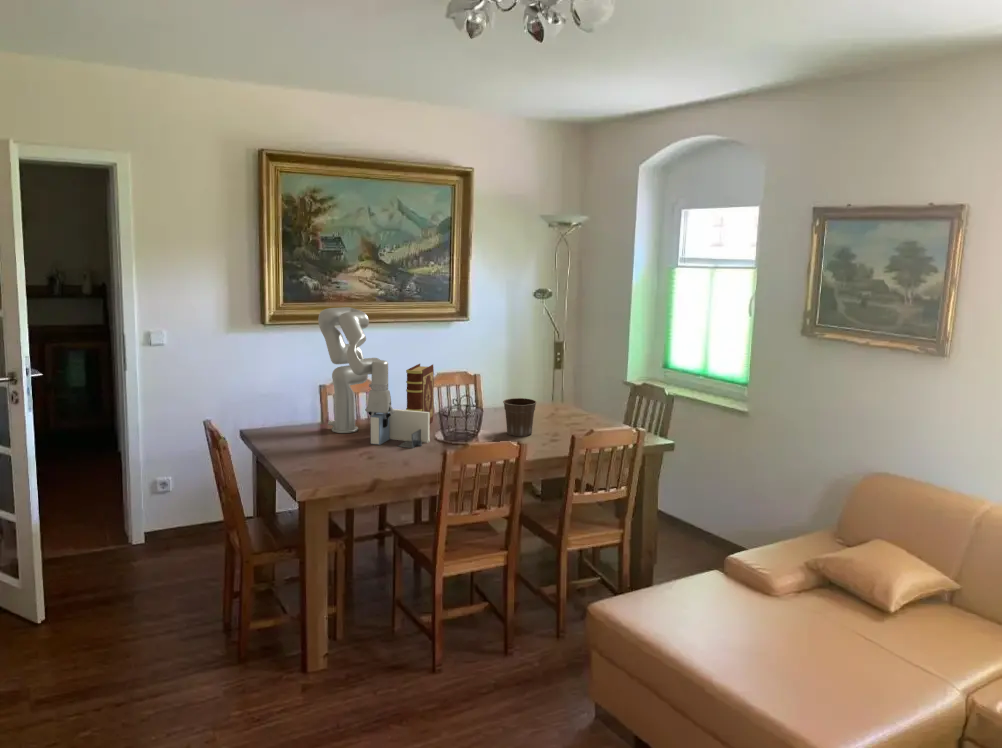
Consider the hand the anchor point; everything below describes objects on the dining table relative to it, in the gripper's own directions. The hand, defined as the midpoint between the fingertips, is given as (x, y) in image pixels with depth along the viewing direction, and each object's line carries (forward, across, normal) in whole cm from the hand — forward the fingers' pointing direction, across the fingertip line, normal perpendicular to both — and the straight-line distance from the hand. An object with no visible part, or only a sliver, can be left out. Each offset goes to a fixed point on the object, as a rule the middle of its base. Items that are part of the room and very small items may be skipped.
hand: (379, 426), depth 354 cm
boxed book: (+7, 0, 0) cm, 7 cm away
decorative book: (+8, +5, +35) cm, 37 cm away
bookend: (+7, +16, 0) cm, 17 cm away
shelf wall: (+7, +8, +7) cm, 13 cm away
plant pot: (+8, +56, +38) cm, 68 cm away
